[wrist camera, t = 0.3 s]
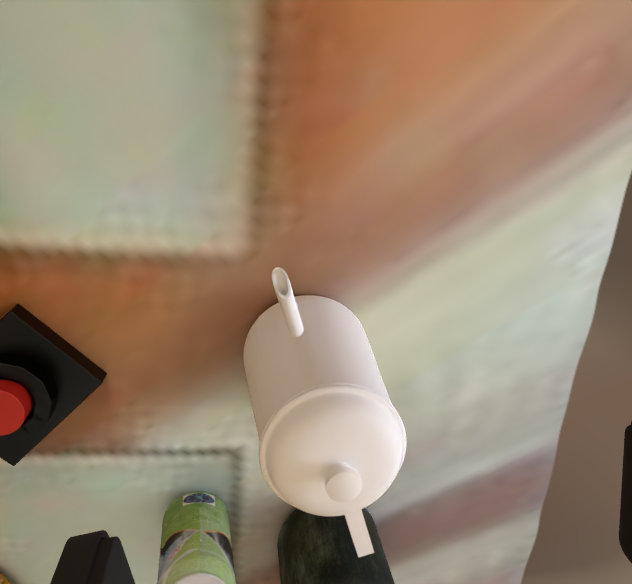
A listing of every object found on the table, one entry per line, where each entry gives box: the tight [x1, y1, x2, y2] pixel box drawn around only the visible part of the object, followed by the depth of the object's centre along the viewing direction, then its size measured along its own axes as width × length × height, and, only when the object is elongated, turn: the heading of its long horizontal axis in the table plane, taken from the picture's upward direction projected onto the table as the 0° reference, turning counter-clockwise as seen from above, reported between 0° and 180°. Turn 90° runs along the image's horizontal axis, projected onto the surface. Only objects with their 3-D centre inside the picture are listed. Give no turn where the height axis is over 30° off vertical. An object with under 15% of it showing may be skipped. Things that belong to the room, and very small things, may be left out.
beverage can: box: [157, 491, 236, 584], centre depth 47 cm, size 6×7×12 cm
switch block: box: [0, 304, 107, 466], centre depth 45 cm, size 11×9×4 cm
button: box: [0, 379, 32, 435], centre depth 42 cm, size 4×4×2 cm
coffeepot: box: [243, 267, 406, 557], centre depth 40 cm, size 11×25×19 cm, turn 15°
